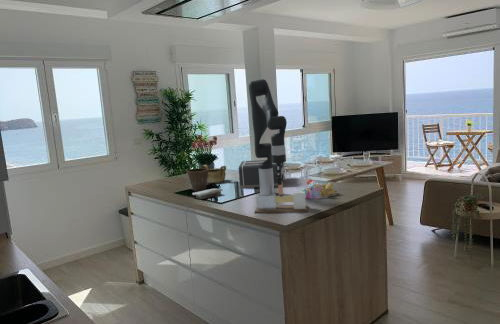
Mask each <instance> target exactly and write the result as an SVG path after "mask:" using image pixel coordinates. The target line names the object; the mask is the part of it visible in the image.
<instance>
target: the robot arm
mask: <svg viewBox="0 0 500 324" xmlns="http://www.w3.org/2000/svg"><path fill="white" fill-rule="evenodd" d="M269 86H270V85H269V84H268V82H267V80H266V79H263V78H261V79H257V80H251V81H249V82H248V93H249V98H250V107H251V119H252V120H251V121H252V129H253V137H254V138H253V139H254V154H255V157H256V159H257V158H258V159H263V158H265V160H266V159H267V160H266V161H264V162H263V163H260V164H259V165H258V169H259V182H260V187H259V193H260V194H259V195H262V194H276V193H275V192H276V191H275V187H274V178H273V164H272V162H273V163H277V166H276V177H277V181H278V185H282V182H283V183H284V180H283V172H285V167H284V166H285V165H284V166H283V163H287V155H286V146H285V133H286V128H287V118H286V117H285V116H283V115H279V110H278V108H277V106H276V105H275V103H274V99H273V96H272V94H271V93H272V92H271V89H270V87H269ZM261 96H265V97H264V99H263V102H262V107H261V105H260V103H258V100H257V97H261ZM267 129H269V130H271V131H274V130H275V131H276V130H278V131H277V133H274V134H272V135H271V136H270V142H271V143H270V142H266V143H265V142H264V143H260V142H261V139H262V137H263V135H264V133H265V132H266V130H267ZM283 168H284V169H283ZM278 174H279V175H278Z"/></svg>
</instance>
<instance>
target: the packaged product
mask: <svg viewBox="0 0 500 324" xmlns="http://www.w3.org/2000/svg"><path fill="white" fill-rule="evenodd" d="M222 192H223V189H222V188H210V189H205V190H203V191H195V192H192V196H195V198H196V199H197V200H198V199H200V200H205V199H208V198H211V197H216V196H219V195H222Z"/></svg>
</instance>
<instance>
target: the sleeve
mask: <svg viewBox="0 0 500 324" xmlns="http://www.w3.org/2000/svg"><path fill="white" fill-rule="evenodd" d="M275 196H277V194H276V193H275V194H262V195H260V194H257V195H256V209H258V210H268V209H276V207H277V205H278V203H275Z"/></svg>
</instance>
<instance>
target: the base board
mask: <svg viewBox="0 0 500 324" xmlns="http://www.w3.org/2000/svg"><path fill="white" fill-rule="evenodd" d="M308 207H309V205H308V204H306V208H305V209H294V204H286V205H285V204H284V205H281V204H280V205H278V204H277V207H276V209H268V210H258V209H257V208H256V209H255V210H254V214H278V213H280V214H282V213H286V214H287V213H307V212H308Z"/></svg>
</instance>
